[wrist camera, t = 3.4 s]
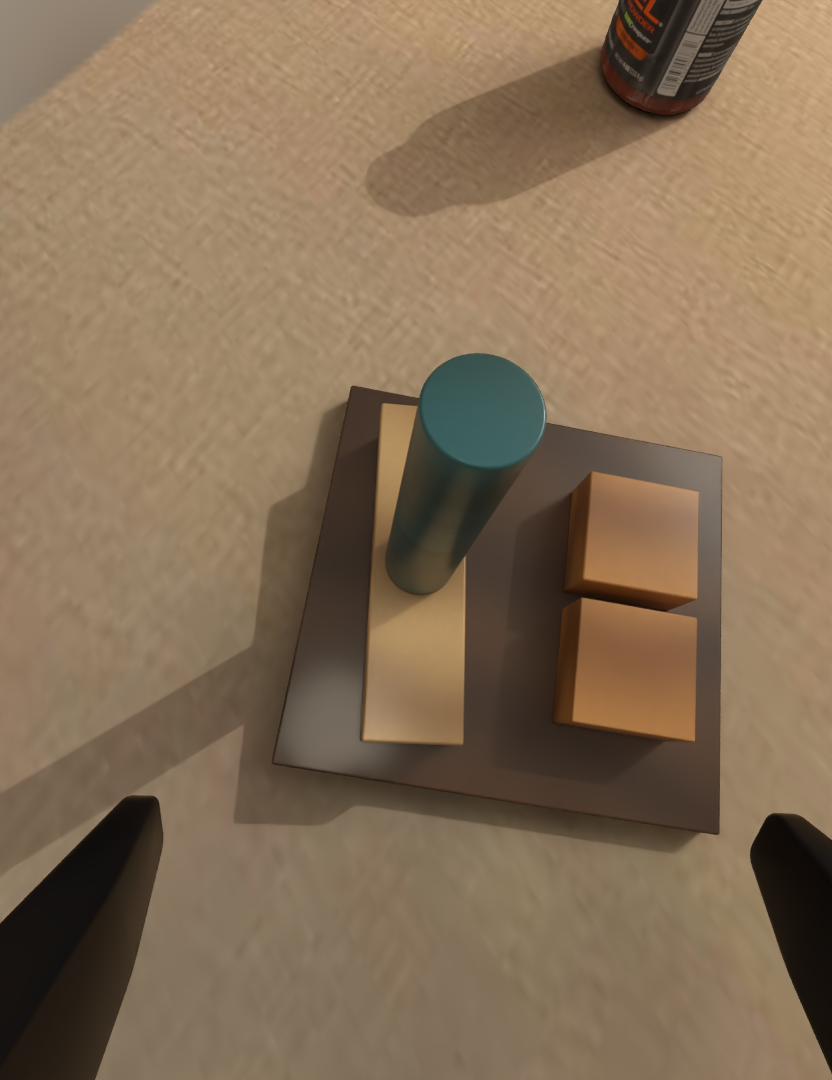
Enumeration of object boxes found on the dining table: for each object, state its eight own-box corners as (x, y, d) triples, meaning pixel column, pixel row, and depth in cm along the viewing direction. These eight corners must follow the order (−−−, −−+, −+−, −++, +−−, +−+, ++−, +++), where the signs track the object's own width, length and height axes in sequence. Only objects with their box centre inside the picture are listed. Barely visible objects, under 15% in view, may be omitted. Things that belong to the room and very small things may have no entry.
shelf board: (704, 831, 22) (720, 835, 21) (274, 762, 21) (270, 764, 20) (709, 466, 26) (723, 455, 25) (351, 397, 26) (351, 384, 25)
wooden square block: (669, 611, 23) (698, 600, 21) (563, 592, 23) (582, 579, 21) (672, 509, 24) (700, 490, 23) (571, 490, 24) (590, 470, 22)
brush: (450, 744, 21) (584, 758, 9) (359, 740, 21) (376, 750, 9) (456, 442, 24) (561, 163, 12) (378, 436, 24) (408, 144, 12)
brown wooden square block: (665, 741, 22) (695, 742, 20) (552, 723, 22) (571, 721, 20) (669, 627, 23) (698, 617, 21) (561, 608, 23) (581, 596, 21)
